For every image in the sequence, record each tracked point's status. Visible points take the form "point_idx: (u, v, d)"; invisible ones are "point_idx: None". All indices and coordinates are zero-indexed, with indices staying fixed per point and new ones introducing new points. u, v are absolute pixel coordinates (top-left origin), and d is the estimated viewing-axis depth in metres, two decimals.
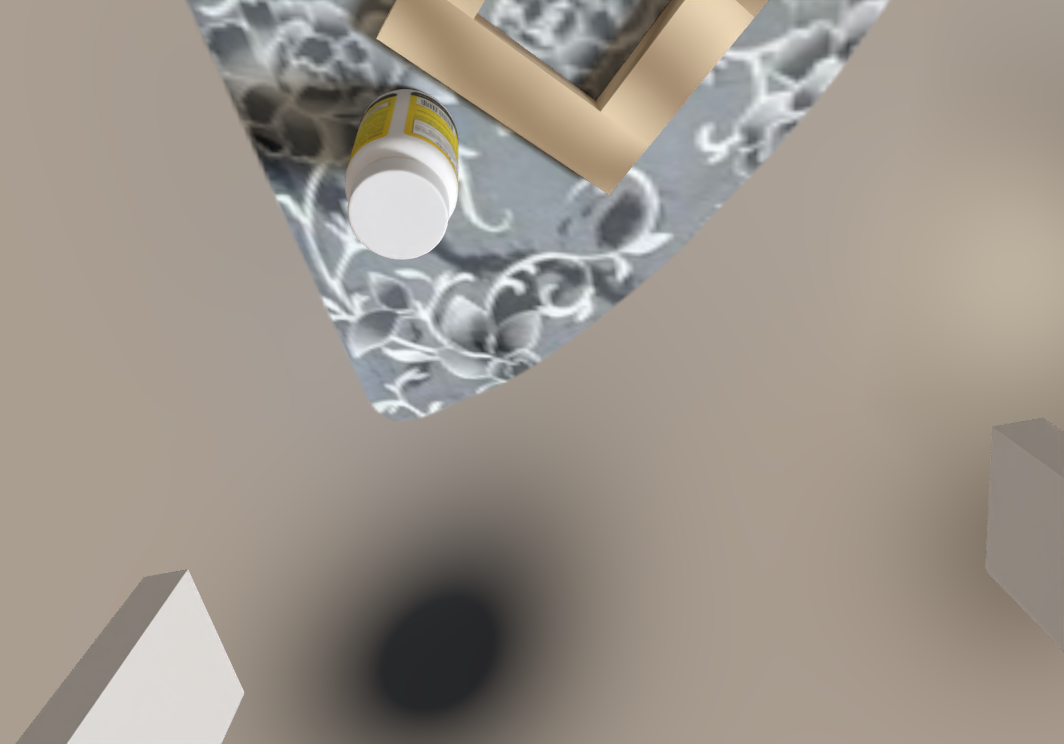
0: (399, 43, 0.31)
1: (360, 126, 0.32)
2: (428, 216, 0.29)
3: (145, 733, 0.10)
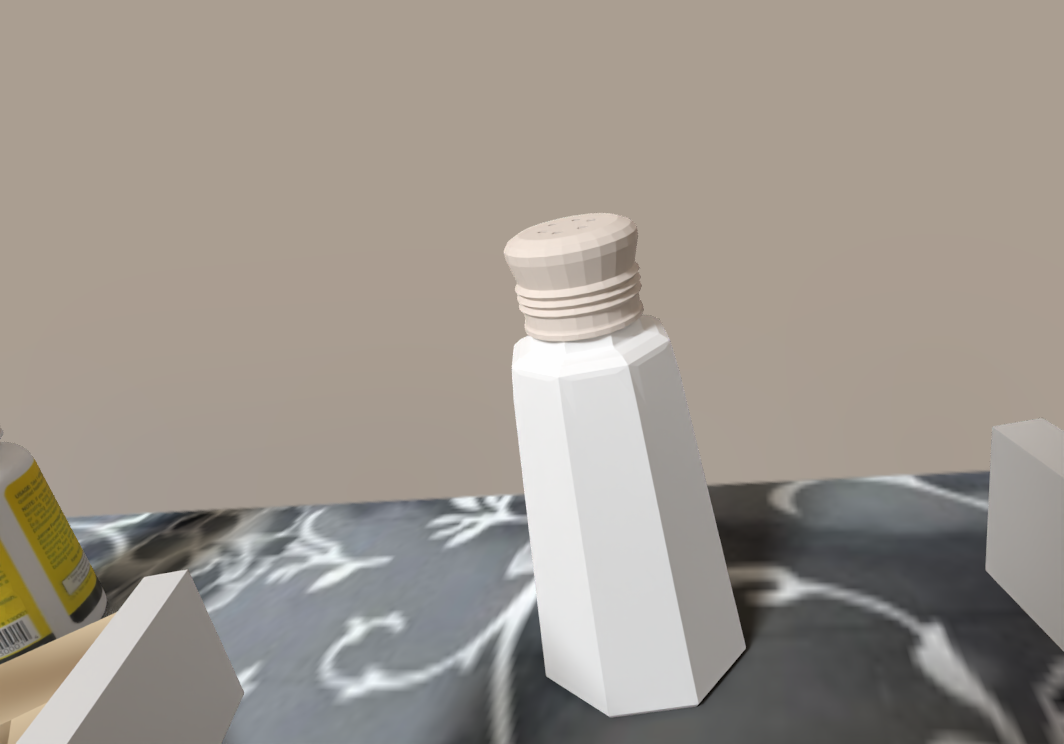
0: (100, 627, 0.21)
1: (84, 555, 0.24)
2: None
3: (145, 733, 0.10)
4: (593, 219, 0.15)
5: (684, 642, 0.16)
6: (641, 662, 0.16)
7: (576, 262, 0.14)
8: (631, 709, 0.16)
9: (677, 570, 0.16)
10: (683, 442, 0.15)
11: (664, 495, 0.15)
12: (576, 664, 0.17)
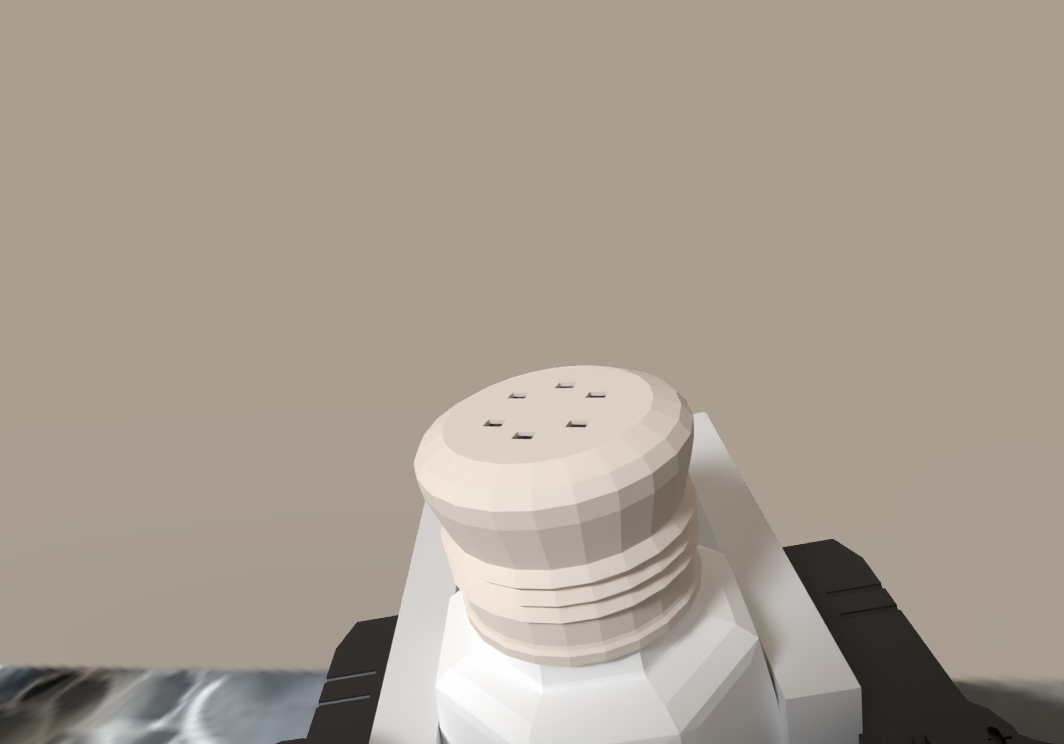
0: None
1: None
2: None
3: None
4: (600, 391, 0.07)
5: None
6: None
7: (564, 524, 0.06)
8: None
9: None
10: None
11: None
12: None
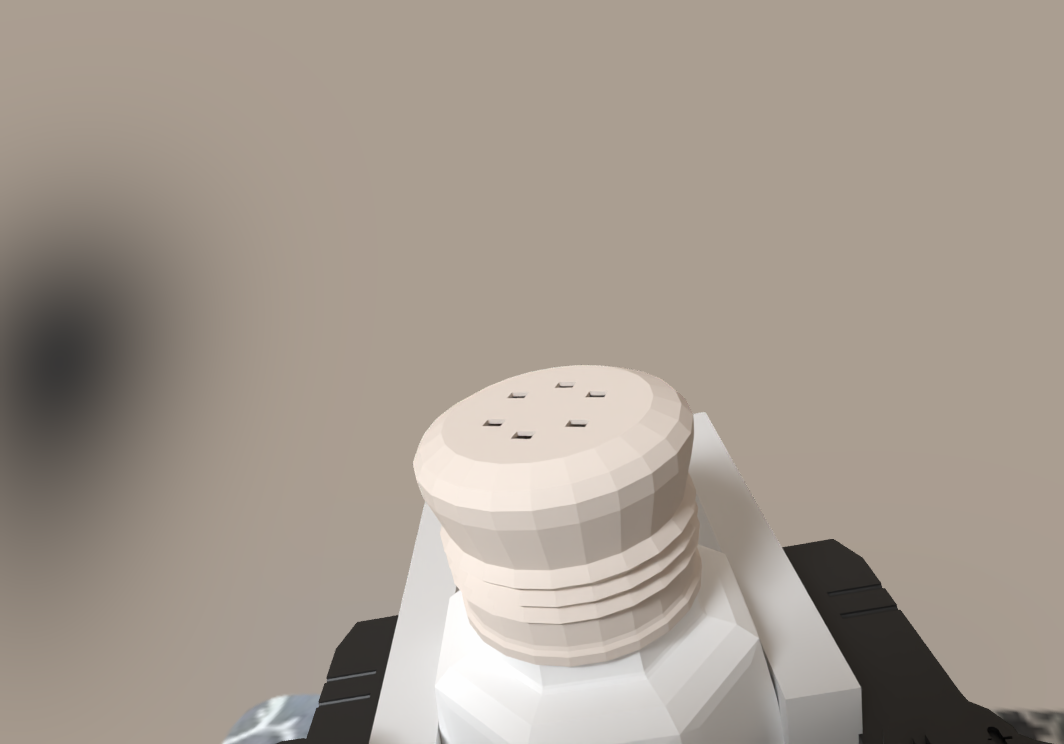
0: None
1: None
2: None
3: None
4: (600, 391, 0.07)
5: None
6: None
7: (564, 524, 0.06)
8: None
9: None
10: None
11: None
12: None
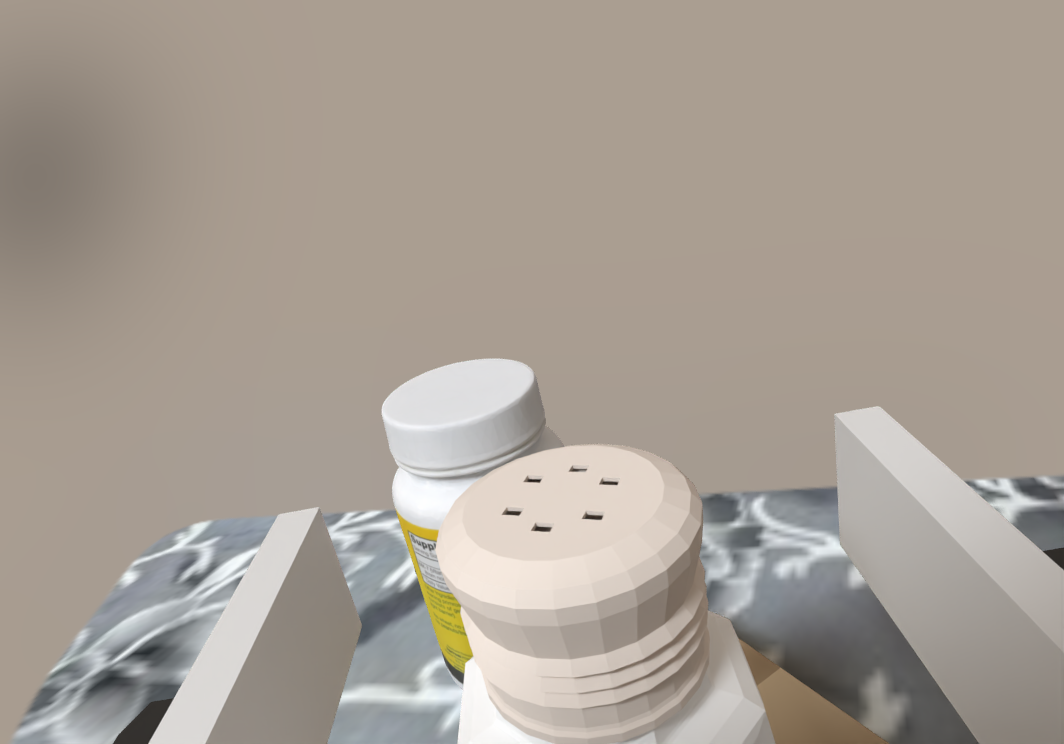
0: None
1: None
2: (435, 410, 0.17)
3: (301, 645, 0.11)
4: (613, 477, 0.08)
5: None
6: None
7: (584, 619, 0.06)
8: None
9: None
10: None
11: None
12: None
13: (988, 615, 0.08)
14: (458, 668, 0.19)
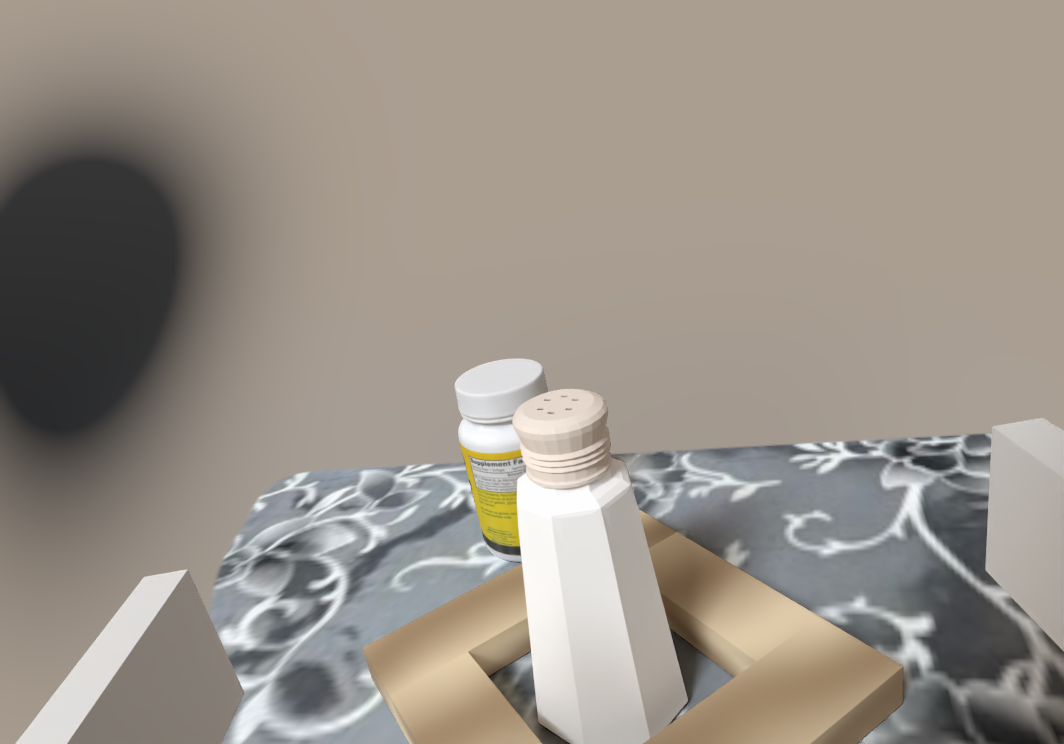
0: None
1: None
2: (486, 386, 0.30)
3: (145, 733, 0.10)
4: (576, 398, 0.21)
5: (640, 700, 0.22)
6: (609, 714, 0.22)
7: (564, 438, 0.20)
8: None
9: (635, 648, 0.21)
10: (640, 556, 0.21)
11: (626, 595, 0.21)
12: (561, 715, 0.23)
13: None
14: (494, 540, 0.32)
